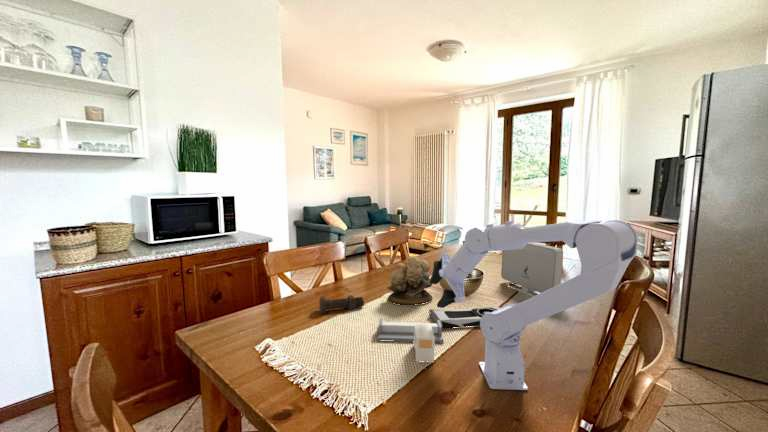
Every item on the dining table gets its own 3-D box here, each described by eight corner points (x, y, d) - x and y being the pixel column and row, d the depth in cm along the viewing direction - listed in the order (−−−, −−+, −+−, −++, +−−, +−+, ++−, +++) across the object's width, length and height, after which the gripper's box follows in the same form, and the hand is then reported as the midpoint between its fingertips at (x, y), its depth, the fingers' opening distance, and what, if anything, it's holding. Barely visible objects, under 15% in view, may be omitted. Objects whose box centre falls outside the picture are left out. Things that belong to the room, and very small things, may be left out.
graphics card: (429, 308, 102) (500, 304, 106) (428, 318, 102) (499, 314, 106) (439, 322, 92) (517, 317, 96) (438, 333, 92) (516, 328, 96)
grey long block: (443, 343, 85) (443, 330, 85) (377, 341, 86) (378, 329, 85) (438, 327, 94) (438, 316, 94) (379, 326, 95) (379, 315, 94)
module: (433, 363, 76) (434, 338, 75) (415, 362, 76) (416, 338, 75) (430, 345, 84) (430, 323, 83) (413, 345, 84) (414, 322, 83)
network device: (497, 282, 138) (499, 238, 136) (511, 280, 142) (514, 237, 140) (548, 303, 115) (552, 250, 113) (564, 299, 119) (568, 248, 116)
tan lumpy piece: (426, 292, 125) (428, 250, 123) (439, 303, 114) (441, 258, 112) (383, 296, 120) (384, 252, 118) (393, 308, 109) (394, 260, 107)
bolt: (363, 312, 109) (320, 317, 104) (360, 301, 113) (318, 304, 108) (366, 301, 106) (322, 305, 101) (363, 290, 110) (320, 293, 104)
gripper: (440, 240, 83) (418, 271, 91) (458, 285, 72) (430, 316, 80) (462, 244, 85) (438, 274, 93) (482, 288, 75) (453, 318, 83)
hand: (436, 294), depth 87 cm, fingers open, 7 cm apart
